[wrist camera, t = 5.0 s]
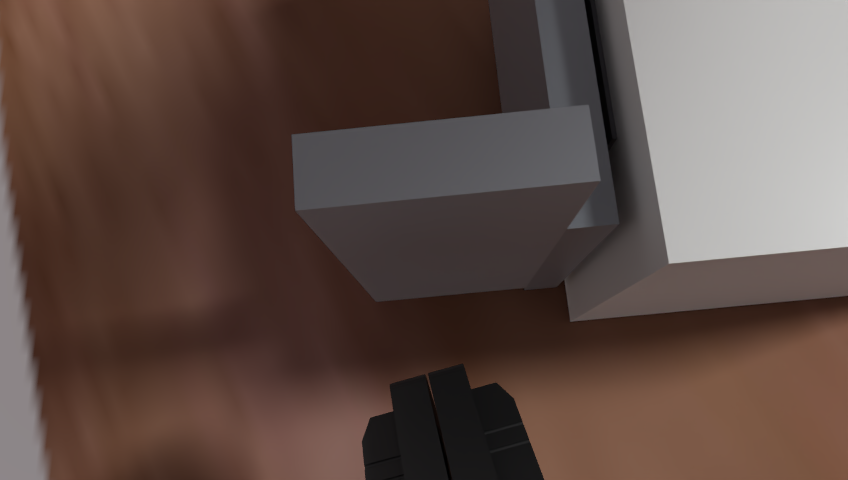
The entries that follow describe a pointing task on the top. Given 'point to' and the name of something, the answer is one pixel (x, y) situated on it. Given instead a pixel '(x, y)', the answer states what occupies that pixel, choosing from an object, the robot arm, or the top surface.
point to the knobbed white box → (719, 155)
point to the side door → (474, 174)
